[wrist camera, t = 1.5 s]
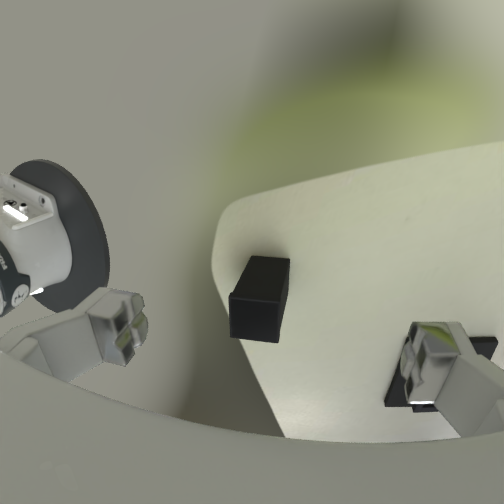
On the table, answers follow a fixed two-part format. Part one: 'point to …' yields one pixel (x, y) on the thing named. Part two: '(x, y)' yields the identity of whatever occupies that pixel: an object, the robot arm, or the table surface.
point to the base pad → (396, 390)
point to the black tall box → (259, 300)
